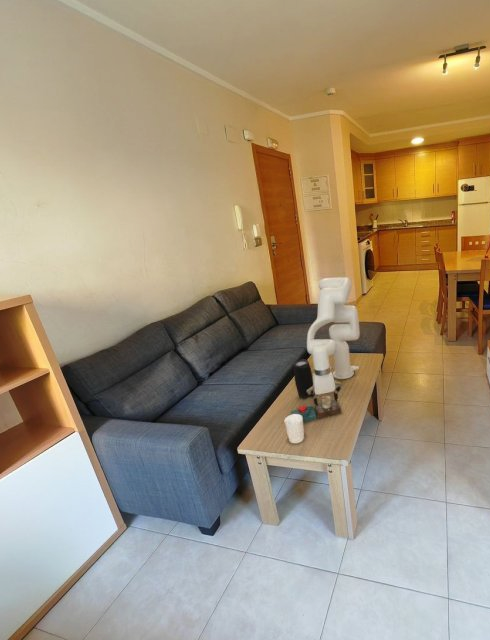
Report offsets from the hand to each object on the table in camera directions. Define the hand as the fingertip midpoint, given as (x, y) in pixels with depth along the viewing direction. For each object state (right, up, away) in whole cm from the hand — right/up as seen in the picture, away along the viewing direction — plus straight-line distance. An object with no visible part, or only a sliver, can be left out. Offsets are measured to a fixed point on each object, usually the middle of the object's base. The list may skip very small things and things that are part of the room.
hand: (326, 402), depth 165 cm
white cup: (-12, -12, -16) cm, 23 cm away
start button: (-11, -4, -2) cm, 12 cm away
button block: (-11, -7, -1) cm, 13 cm away
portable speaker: (-12, -1, +19) cm, 22 cm away
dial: (0, -2, +1) cm, 2 cm away
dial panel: (+1, -5, +2) cm, 5 cm away
